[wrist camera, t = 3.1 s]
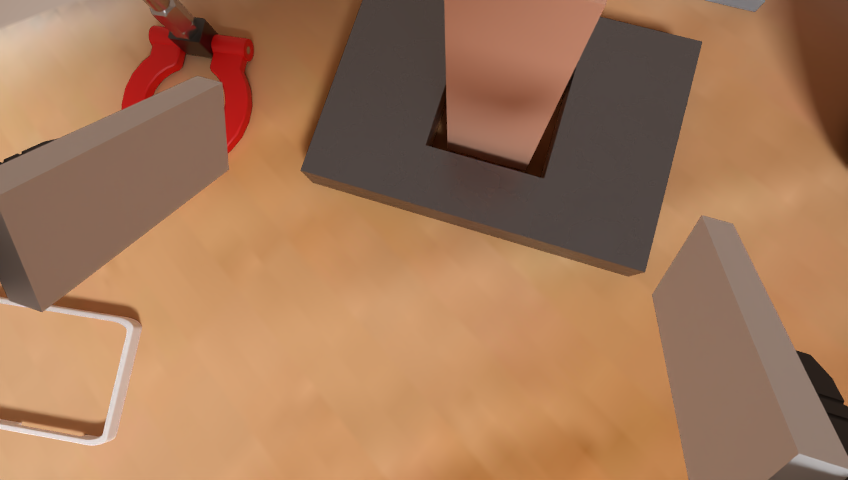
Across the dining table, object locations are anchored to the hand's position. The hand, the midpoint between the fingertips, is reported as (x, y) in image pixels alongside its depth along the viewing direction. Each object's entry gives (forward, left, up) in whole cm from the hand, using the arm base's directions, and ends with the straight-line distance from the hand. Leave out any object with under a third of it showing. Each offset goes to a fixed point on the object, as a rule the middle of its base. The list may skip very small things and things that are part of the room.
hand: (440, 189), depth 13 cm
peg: (+4, -9, -16) cm, 19 cm away
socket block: (+4, -9, -16) cm, 19 cm away
